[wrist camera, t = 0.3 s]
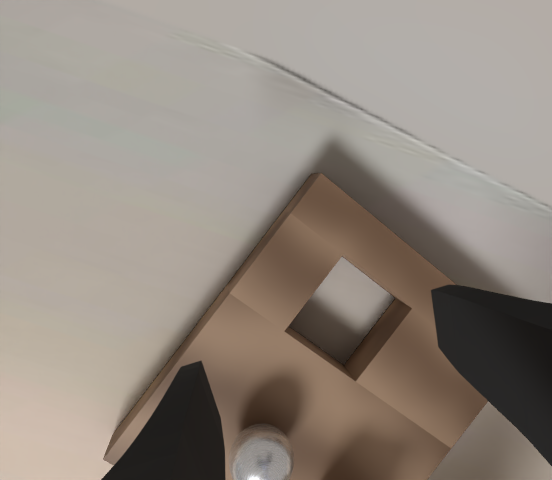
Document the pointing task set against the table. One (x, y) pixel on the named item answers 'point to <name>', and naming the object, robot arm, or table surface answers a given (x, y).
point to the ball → (261, 454)
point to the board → (318, 364)
